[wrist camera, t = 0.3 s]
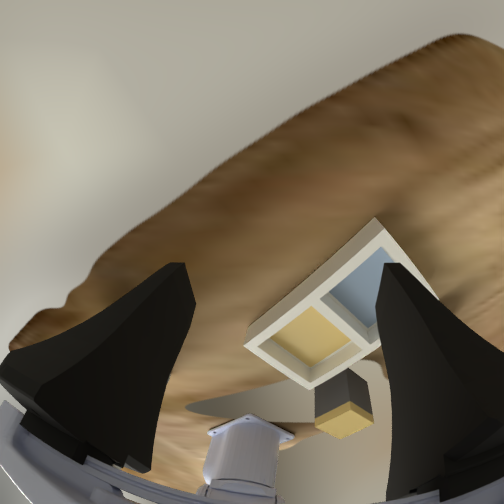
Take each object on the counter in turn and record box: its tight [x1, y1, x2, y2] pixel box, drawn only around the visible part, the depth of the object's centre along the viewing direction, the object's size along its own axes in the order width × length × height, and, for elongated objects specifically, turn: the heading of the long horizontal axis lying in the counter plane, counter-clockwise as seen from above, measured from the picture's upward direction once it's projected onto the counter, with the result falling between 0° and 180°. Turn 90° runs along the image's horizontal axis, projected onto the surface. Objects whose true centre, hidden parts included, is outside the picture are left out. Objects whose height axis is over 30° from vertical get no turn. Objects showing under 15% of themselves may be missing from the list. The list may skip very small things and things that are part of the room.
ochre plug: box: [315, 368, 374, 439], centre depth 24 cm, size 4×4×6 cm
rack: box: [243, 217, 439, 390], centre depth 21 cm, size 14×8×2 cm, turn 139°
